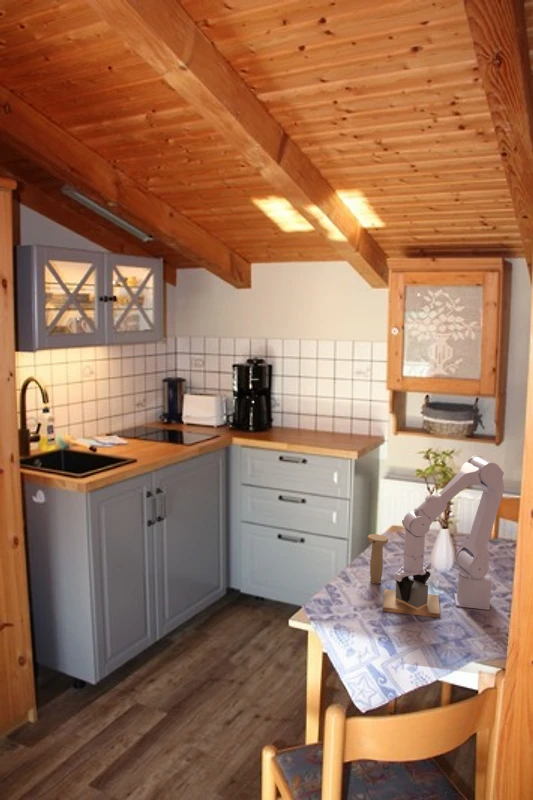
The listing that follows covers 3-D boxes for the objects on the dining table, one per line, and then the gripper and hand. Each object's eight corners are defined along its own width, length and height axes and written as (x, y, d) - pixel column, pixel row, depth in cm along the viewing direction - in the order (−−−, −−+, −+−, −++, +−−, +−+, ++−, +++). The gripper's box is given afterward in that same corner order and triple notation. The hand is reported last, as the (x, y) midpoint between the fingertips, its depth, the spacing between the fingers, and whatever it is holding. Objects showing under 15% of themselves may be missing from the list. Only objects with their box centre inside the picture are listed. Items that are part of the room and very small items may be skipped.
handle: (381, 587, 207) (383, 542, 205) (363, 582, 211) (365, 537, 209) (388, 582, 211) (390, 537, 209) (370, 577, 215) (372, 532, 212)
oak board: (438, 598, 200) (438, 595, 200) (439, 617, 189) (439, 613, 189) (384, 592, 204) (384, 589, 203) (382, 611, 192) (382, 607, 192)
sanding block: (427, 605, 194) (428, 585, 193) (417, 609, 191) (418, 590, 190) (405, 595, 200) (406, 576, 199) (395, 599, 197) (396, 580, 196)
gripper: (409, 564, 185) (406, 609, 187) (440, 551, 194) (437, 595, 196) (389, 556, 190) (387, 600, 192) (420, 544, 199) (418, 587, 202)
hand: (411, 597), depth 195 cm, fingers open, 5 cm apart
